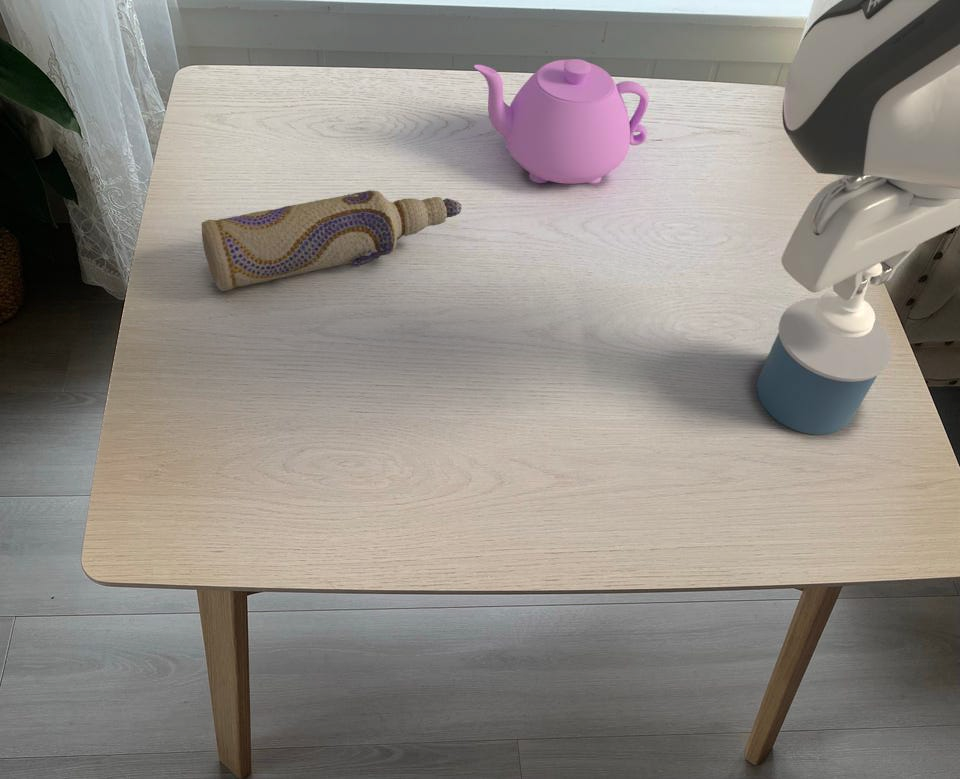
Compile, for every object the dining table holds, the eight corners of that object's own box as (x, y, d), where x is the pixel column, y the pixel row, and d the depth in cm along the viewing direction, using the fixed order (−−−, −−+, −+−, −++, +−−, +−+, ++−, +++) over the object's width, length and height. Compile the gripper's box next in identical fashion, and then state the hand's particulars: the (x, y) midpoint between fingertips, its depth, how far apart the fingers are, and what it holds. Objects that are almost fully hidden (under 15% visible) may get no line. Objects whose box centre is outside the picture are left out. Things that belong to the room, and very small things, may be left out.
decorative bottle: (221, 310, 90) (211, 256, 85) (205, 259, 94) (194, 205, 89) (474, 254, 97) (478, 201, 92) (447, 209, 102) (450, 157, 97)
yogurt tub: (871, 438, 85) (908, 379, 79) (767, 437, 84) (796, 378, 78) (840, 358, 91) (872, 298, 85) (743, 357, 90) (768, 296, 84)
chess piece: (803, 301, 81) (845, 208, 73) (852, 291, 82) (899, 199, 74) (833, 342, 78) (881, 249, 70) (884, 332, 79) (936, 239, 71)
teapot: (471, 199, 103) (478, 100, 94) (464, 123, 112) (470, 27, 103) (651, 201, 105) (675, 104, 96) (629, 126, 114) (650, 32, 105)
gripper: (867, 211, 61) (797, 357, 71) (1058, 127, 69) (970, 269, 79) (796, 158, 64) (740, 305, 75) (987, 84, 72) (912, 225, 83)
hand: (860, 286), depth 77 cm, fingers closed on chess piece
